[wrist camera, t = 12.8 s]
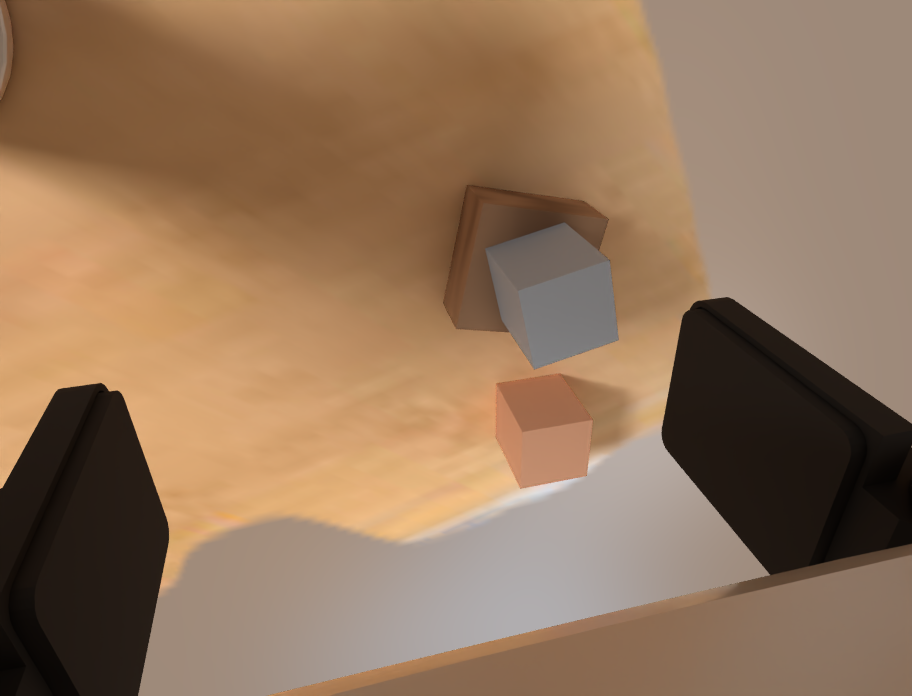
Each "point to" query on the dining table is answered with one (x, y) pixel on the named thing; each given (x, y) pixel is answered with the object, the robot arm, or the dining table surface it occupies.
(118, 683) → the robot arm
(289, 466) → the dining table surface
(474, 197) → the walnut base
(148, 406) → the dining table surface
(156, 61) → the dining table surface
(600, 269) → the slate block
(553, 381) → the terracotta block
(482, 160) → the dining table surface
